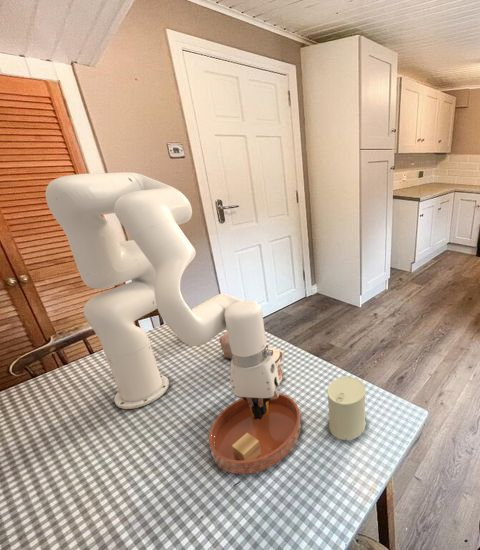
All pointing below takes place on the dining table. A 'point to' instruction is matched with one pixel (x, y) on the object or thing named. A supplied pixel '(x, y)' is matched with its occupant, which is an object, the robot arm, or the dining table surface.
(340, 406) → the can
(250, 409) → the mustard block
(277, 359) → the teacup with lid
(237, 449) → the birch block
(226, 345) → the food item
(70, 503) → the dining table surface
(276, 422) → the bowl
